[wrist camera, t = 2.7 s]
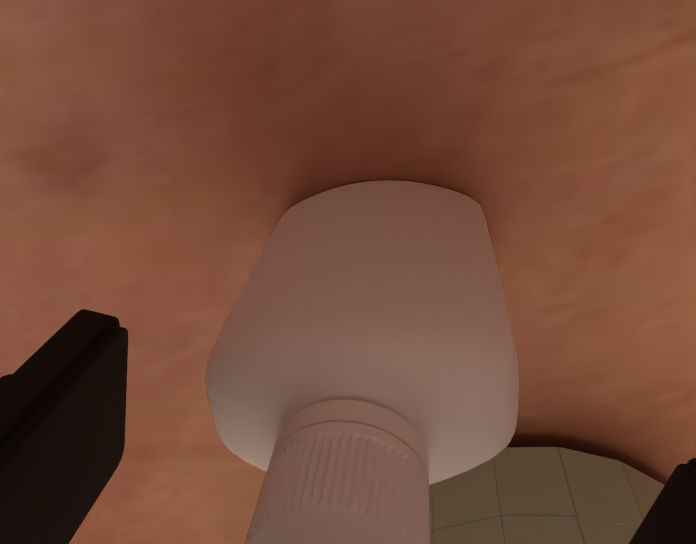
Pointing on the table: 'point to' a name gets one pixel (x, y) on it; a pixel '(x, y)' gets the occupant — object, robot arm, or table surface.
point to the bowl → (541, 500)
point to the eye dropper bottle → (366, 363)
